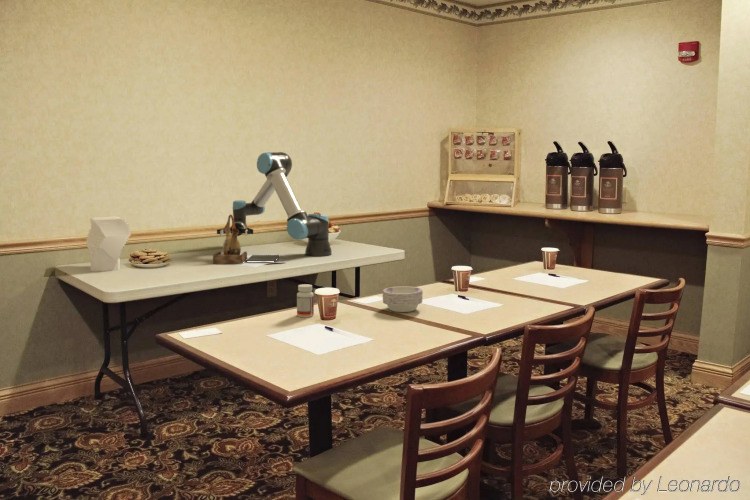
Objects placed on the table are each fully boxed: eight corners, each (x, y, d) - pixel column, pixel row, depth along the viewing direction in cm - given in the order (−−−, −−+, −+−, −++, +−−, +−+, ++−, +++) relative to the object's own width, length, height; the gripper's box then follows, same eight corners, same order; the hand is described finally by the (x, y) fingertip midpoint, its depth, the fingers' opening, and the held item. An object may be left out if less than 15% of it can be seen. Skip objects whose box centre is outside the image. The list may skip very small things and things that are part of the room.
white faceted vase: (87, 273, 328) (84, 220, 324) (87, 264, 352) (84, 215, 349) (133, 270, 336) (130, 219, 332) (130, 262, 361) (127, 214, 357)
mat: (279, 257, 380) (279, 254, 380) (274, 262, 362) (274, 260, 362) (252, 256, 380) (252, 254, 380) (246, 262, 362) (246, 260, 362)
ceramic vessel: (245, 261, 364) (244, 215, 360) (229, 263, 359) (228, 216, 355) (234, 257, 377) (233, 212, 373) (218, 258, 372) (217, 213, 369)
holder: (247, 259, 370) (246, 251, 369) (242, 263, 357) (242, 255, 357) (218, 259, 370) (218, 251, 369) (213, 263, 357) (212, 255, 357)
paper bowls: (381, 305, 266) (381, 285, 265) (419, 305, 267) (420, 285, 266) (383, 314, 251) (383, 293, 250) (424, 314, 252) (425, 293, 251)
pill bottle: (306, 312, 254) (305, 283, 252) (317, 315, 249) (317, 285, 248) (293, 315, 249) (293, 285, 247) (304, 318, 245) (304, 287, 243)
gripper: (259, 235, 398) (256, 240, 377) (216, 235, 396) (210, 240, 375) (259, 222, 397) (256, 226, 376) (215, 222, 394) (210, 226, 374)
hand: (233, 233), depth 375 cm, fingers open, 13 cm apart
